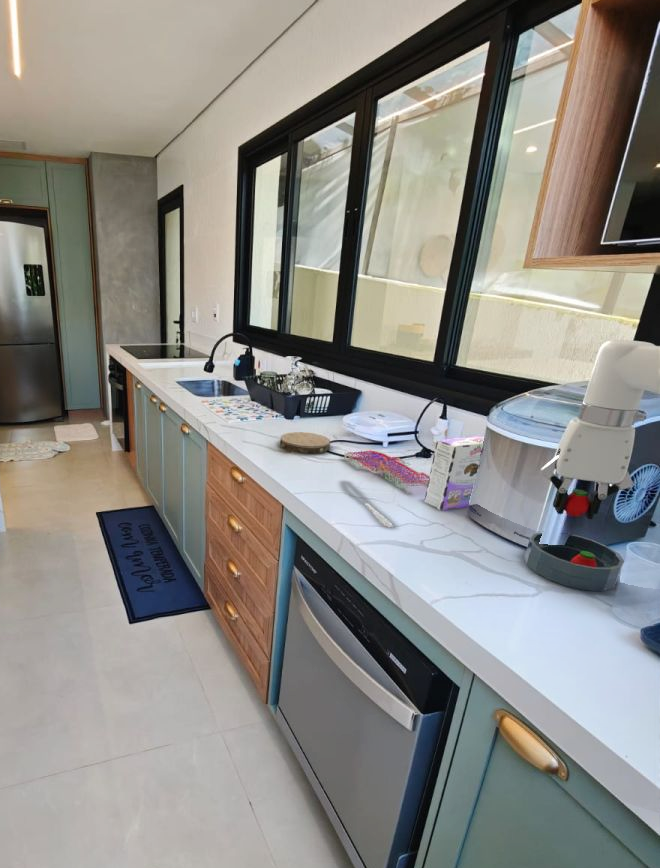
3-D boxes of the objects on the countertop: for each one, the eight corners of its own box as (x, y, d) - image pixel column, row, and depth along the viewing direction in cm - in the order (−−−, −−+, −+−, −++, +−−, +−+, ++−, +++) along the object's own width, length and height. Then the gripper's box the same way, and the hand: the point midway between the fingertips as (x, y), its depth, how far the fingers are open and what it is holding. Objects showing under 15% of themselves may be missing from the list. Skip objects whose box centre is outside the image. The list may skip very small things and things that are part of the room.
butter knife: (382, 526, 109) (395, 525, 109) (338, 483, 134) (349, 482, 134) (382, 529, 109) (395, 528, 109) (338, 485, 134) (349, 484, 134)
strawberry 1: (573, 509, 94) (581, 487, 93) (591, 518, 91) (599, 495, 89) (554, 510, 94) (561, 487, 92) (571, 519, 90) (579, 496, 89)
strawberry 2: (589, 572, 94) (597, 551, 92) (595, 583, 90) (603, 561, 88) (564, 567, 95) (572, 546, 93) (569, 578, 91) (577, 556, 90)
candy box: (465, 496, 128) (480, 434, 122) (484, 505, 123) (501, 441, 117) (422, 502, 124) (435, 438, 118) (440, 512, 119) (455, 445, 113)
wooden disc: (269, 445, 165) (270, 436, 164) (303, 438, 174) (304, 429, 173) (305, 458, 154) (306, 449, 152) (339, 450, 163) (340, 441, 161)
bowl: (601, 563, 98) (610, 540, 96) (625, 601, 86) (635, 576, 84) (519, 548, 103) (525, 526, 101) (530, 582, 91) (537, 557, 89)
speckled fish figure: (448, 494, 129) (452, 475, 127) (396, 498, 126) (400, 478, 124) (385, 458, 156) (387, 441, 154) (340, 460, 153) (342, 443, 151)
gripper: (658, 417, 86) (621, 515, 93) (545, 406, 92) (518, 498, 98) (675, 427, 79) (634, 531, 86) (553, 414, 85) (523, 512, 92)
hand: (573, 512), depth 92 cm, fingers closed on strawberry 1, 3 cm apart
